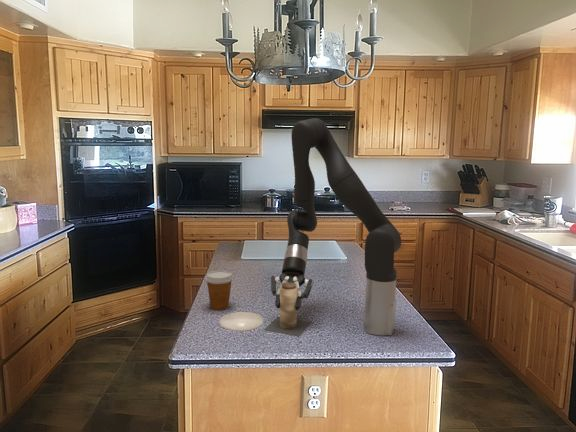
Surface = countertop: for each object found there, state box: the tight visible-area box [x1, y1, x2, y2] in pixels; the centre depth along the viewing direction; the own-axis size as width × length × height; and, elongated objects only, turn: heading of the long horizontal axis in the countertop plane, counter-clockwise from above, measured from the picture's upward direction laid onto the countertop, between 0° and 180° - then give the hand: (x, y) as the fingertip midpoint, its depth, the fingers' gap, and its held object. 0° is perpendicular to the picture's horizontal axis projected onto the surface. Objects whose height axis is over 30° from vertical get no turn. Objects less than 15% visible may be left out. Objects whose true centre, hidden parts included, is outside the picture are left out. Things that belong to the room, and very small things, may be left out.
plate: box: [219, 311, 264, 332], centre depth 152 cm, size 14×14×1 cm
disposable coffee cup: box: [205, 270, 234, 311], centre depth 165 cm, size 10×10×12 cm
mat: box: [263, 316, 313, 338], centre depth 150 cm, size 12×12×1 cm
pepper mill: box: [279, 282, 298, 330], centre depth 148 cm, size 5×5×14 cm
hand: (287, 308), depth 147 cm, fingers closed on pepper mill, 5 cm apart
